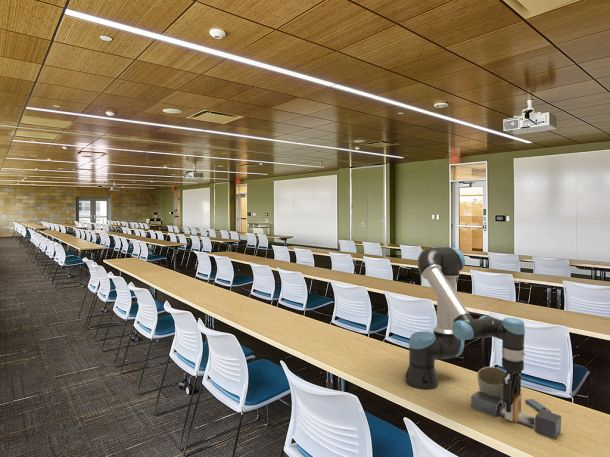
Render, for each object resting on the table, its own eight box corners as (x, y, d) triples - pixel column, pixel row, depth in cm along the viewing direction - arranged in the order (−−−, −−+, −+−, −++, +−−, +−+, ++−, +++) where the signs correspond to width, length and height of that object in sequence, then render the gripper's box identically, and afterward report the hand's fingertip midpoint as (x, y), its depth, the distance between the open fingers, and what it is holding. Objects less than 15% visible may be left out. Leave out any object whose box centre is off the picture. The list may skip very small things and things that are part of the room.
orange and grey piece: (480, 410, 157) (481, 385, 157) (484, 406, 160) (485, 383, 160) (532, 428, 143) (533, 402, 143) (535, 424, 146) (536, 398, 146)
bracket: (533, 403, 165) (533, 398, 165) (551, 415, 154) (551, 410, 154) (524, 403, 164) (524, 399, 164) (542, 416, 154) (542, 411, 154)
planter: (517, 404, 159) (516, 381, 156) (488, 410, 158) (487, 388, 156) (499, 385, 171) (498, 364, 168) (473, 391, 170) (471, 370, 168)
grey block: (470, 408, 159) (471, 395, 159) (477, 402, 163) (478, 390, 163) (496, 417, 152) (496, 404, 151) (502, 411, 156) (502, 399, 156)
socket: (535, 431, 141) (535, 415, 141) (540, 425, 146) (541, 409, 146) (555, 439, 137) (555, 422, 137) (560, 432, 141) (561, 415, 141)
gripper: (515, 367, 141) (513, 429, 142) (531, 355, 153) (529, 412, 154) (493, 361, 147) (492, 421, 147) (510, 350, 159) (509, 406, 159)
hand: (511, 416), depth 151 cm, fingers open, 5 cm apart
